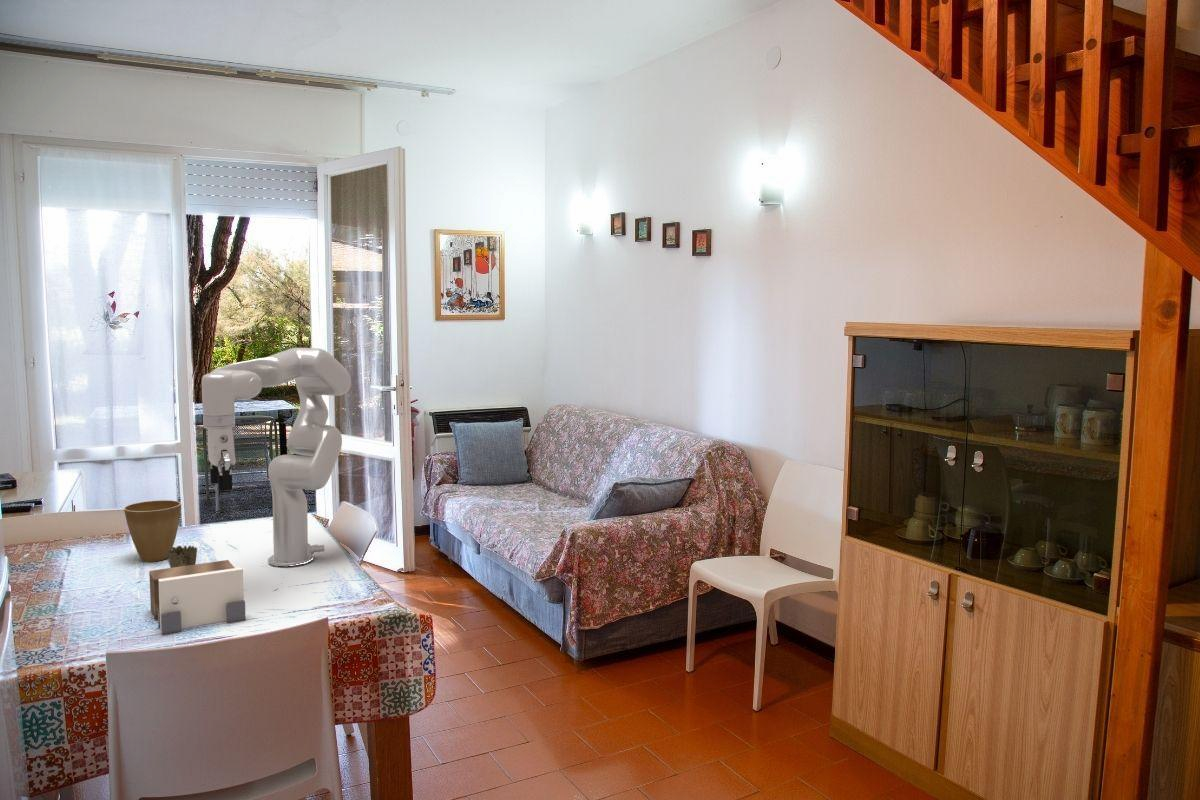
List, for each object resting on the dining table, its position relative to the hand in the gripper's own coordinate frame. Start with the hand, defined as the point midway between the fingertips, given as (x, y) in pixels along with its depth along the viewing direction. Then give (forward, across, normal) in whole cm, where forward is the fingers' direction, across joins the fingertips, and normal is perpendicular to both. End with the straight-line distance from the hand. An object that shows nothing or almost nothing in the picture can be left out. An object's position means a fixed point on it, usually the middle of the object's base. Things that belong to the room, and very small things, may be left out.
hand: (221, 486), depth 223 cm
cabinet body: (+28, -10, +9) cm, 31 cm away
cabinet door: (+28, -21, +9) cm, 36 cm away
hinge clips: (+28, -22, +9) cm, 36 cm away
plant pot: (+28, +41, +11) cm, 51 cm away
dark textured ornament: (+28, +18, +7) cm, 34 cm away
